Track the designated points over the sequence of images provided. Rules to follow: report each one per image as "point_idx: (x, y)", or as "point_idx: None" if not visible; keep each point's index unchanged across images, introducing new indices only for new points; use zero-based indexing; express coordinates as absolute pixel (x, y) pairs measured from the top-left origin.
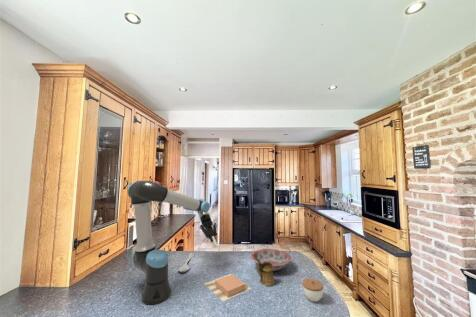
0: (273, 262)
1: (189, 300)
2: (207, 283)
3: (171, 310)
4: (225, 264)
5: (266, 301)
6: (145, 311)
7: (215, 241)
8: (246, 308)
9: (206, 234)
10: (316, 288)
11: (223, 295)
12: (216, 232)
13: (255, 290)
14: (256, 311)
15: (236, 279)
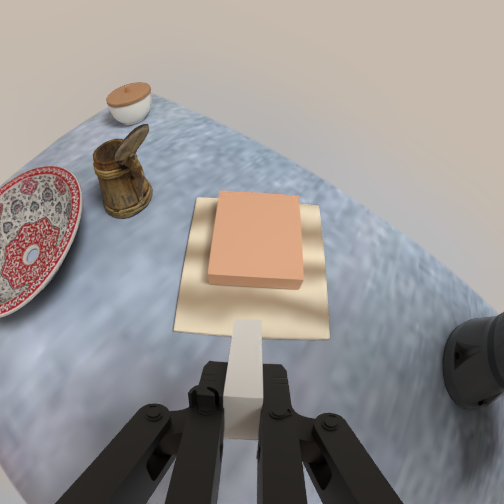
0: (7, 261)
1: (401, 282)
2: (316, 329)
3: (445, 273)
4: None
5: (213, 152)
6: (490, 309)
7: (239, 339)
8: (274, 162)
9: (356, 451)
10: (143, 83)
11: (302, 225)
12: (126, 429)
13: (192, 192)
14: (261, 146)
15: (222, 228)
